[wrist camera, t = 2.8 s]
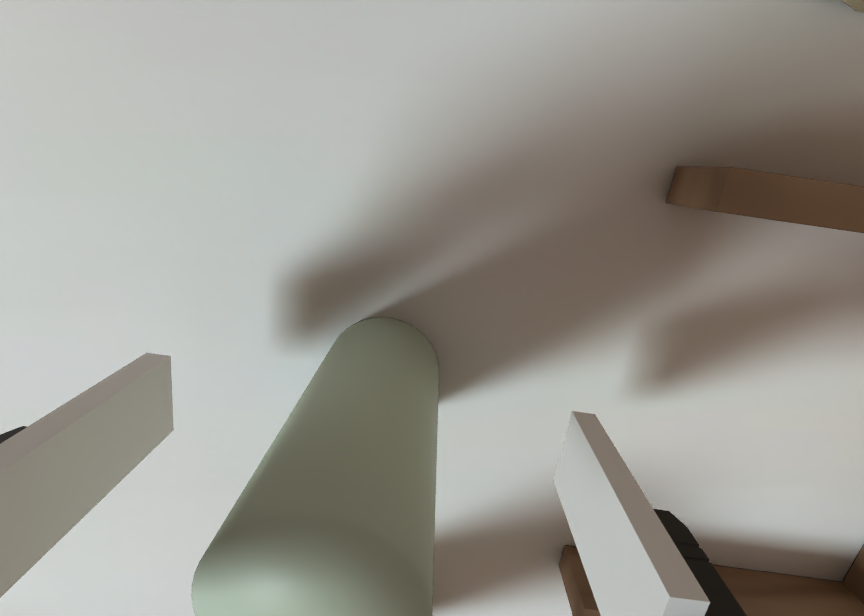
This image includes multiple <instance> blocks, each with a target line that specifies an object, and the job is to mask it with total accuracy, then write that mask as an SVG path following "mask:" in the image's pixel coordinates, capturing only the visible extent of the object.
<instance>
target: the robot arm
mask: <svg viewBox="0 0 864 616" xmlns="http://www.w3.org/2000/svg"><path fill="white" fill-rule="evenodd" d="M173 430H174V429H173V405H172V380H171V356H166V355H159V354H151V353H146V354H144V355H142V356H141V357H139V358H138V359H136V360H134V361H133V362H131V363H130V364H128V365H126V366H125V367H123V368H122V369H120V370H118V371H117V372H115V373H113V374H112V375H110V376H109V377H107V378H105V379H104V380H102V381H101V382H99V383H97V384H96V385H94V386H93V387H91V388H89V389H88V390H86V391H84V392H83V393H81V394H80V395H78V396H76V397H75V398H73V399H72V400H70V401H68V402H67V403H65V404H64V405H62V406H60V407H59V408H57V409H56V410H54V411H52V412H51V413H49V414H47V415H46V416H44V417H43V418H41V419H39V420H38V421H36V422H35V423H33V424H31V425H30V426H28V427H25V426H22V427H19V428H17V429H14V430H11V431H9V432H6V433H4V434H1V435H0V597H2V596H3V595H4V594H5V593H6V592H7V591H8V590H9V589H10V588H11V587H12V586H13V585H14V584H15V583H16V582H17V581H18V580H19V579H20V578H21V577H22V576H23V575H24V574H25V573H26V572H27V571H28V570H29V569H30V568H31V567H33V566H34V565H35V564H36V563H37V562H38V561H39V560H40V559H41V558H42V557H43V556H44V555H45V554H46V553H47V552H48V551H49V550H50V549H51V548H52V547H53V546H54V545H55V544H56V543H57V542H58V541H59V540H60V539H61V538H62V537H64V536H65V535H66V534H67V533H68V532H69V531H70V530H71V529H72V528H73V527H74V526H75V525H76V524H77V523H78V522H79V521H80V520H81V519H82V518H83V517H84V516H85V515H86V514H87V513H88V512H89V511H90V510H91V509H92V508H93V507H95V506H96V505H97V504H98V503H99V502H100V501H101V500H102V499H103V498H104V497H105V496H106V495H107V494H108V493H109V492H110V491H111V490H112V489H113V488H114V487H115V486H116V485H117V484H118V483H119V482H120V481H121V480H122V479H123V478H124V477H125V476H127V475H128V474H129V473H130V472H131V471H132V470H133V469H134V468H135V467H136V466H137V465H138V464H139V463H140V462H141V461H142V460H143V459H144V458H145V457H146V456H147V455H148V454H149V453H150V452H151V451H152V450H153V449H154V448H155V447H156V446H158V445H159V444H160V443H161V442H162V441H163V440H164V439H165V438H166V437H167V436H168V435H169V434H170V433H171V432H172V431H173ZM554 484H555V487H556V490H557V492H558V495H559V498H560V501H561V504H562V507H563V510H564V512H565V515H566V518H567V521H568V524H569V527H570V530H571V532H572V535H573V538H574V541H575V544H576V547H577V550H578V552H579V555H580V558H581V561H582V564H583V567H584V570H585V572H586V575H587V578H588V581H589V584H590V587H591V590H592V592H593V595H594V598H595V601H596V604H597V607H598V610H599V612H600V615H601V616H747V615H746V614H745V612H744V611H743V609H742V608H741V606H740V605H739V603H738V602H737V600H736V599H735V597H734V596H733V594H732V593H731V591H730V590H729V589H728V587H727V586H726V584H725V583H724V581H723V580H722V578H721V577H720V575H719V574H718V572H717V571H716V569H715V568H714V566H713V565H712V563H709V559H708V558H707V556H706V555H705V553H704V552H703V550H702V549H701V548H699V544H698V543H697V541H696V540H695V538H694V537H693V535H692V534H691V532H690V531H689V529H688V528H687V527H686V526H685V525H684V524H683V523H682V522H681V521H679V520H678V519H677V518H676V517H675V516H674V515H673V514H672V513H671V512H669V511H664V510H657V509H653V508H652V506H651V505H650V503H649V501H648V500H647V498H646V497H645V495H644V493H643V492H642V490H641V488H640V487H639V485H638V484H637V482H636V480H635V479H634V477H633V475H632V474H631V472H630V470H629V469H628V467H627V466H626V464H625V462H624V461H623V459H622V457H621V456H620V454H619V453H618V451H617V449H616V448H615V446H614V444H613V443H612V441H611V440H610V438H609V436H608V435H607V433H606V431H605V430H604V428H603V427H602V425H601V423H600V422H599V420H598V418H597V417H596V415H595V414H590V413H582V412H575V411H572V413H571V416H570V420H569V424H568V428H567V432H566V435H565V439H564V443H563V447H562V451H561V454H560V458H559V462H558V466H557V469H556V473H555V477H554Z"/></svg>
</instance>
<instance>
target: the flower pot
mask: <svg viewBox="0 0 864 616" xmlns="http://www.w3.org/2000/svg"><path fill="white" fill-rule="evenodd" d="M841 1H843V2H844V3H846V4H847V5H849V6H850V7H852V8H853V9H854V10H855V11H859V12H863V13H864V0H841Z"/></svg>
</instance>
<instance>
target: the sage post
mask: <svg viewBox="0 0 864 616" xmlns="http://www.w3.org/2000/svg"><path fill="white" fill-rule="evenodd" d="M438 389H439V364H438V359H437V356H436V353H435V350H434V349H433V347H432V345H431V343H430V342H429V341H428V339H427V338H426V337H425V336H424V335H423V334H422V333H421V332H420V331H418V330H417V329H416V328H414V327H413V326H411V325H409V324H407V323H405V322H402V321H399V320H396V319H391V318H371V319H366V320H363V321H360V322H357V323H355V324H353V325H352V326H350V327H348V328H347V329H346V330H345V331H343V332H342V333H341V334H340V336H339V337H338V338H337V339H336V341H335V342H334V344H333V346H332V347H331V349H330V350H329V352H328V354H327V355H326V357H325V359H324V360H323V362H322V363H321V365H320V367H319V368H318V370H317V372H316V373H315V375H314V376H313V378H312V380H311V381H310V383H309V385H308V386H307V388H306V389H305V391H304V393H303V394H302V396H301V398H300V399H299V401H298V402H297V404H296V406H295V407H294V409H293V411H292V412H291V414H290V415H289V417H288V419H287V420H286V422H285V424H284V425H283V427H282V428H281V430H280V432H279V433H278V435H277V437H276V438H275V440H274V441H273V443H272V445H271V446H270V448H269V450H268V451H267V453H266V454H265V456H264V458H263V459H262V461H261V463H260V464H259V466H258V467H257V469H256V471H255V472H254V474H253V476H252V477H251V479H250V480H249V482H248V484H247V485H246V487H245V489H244V490H243V492H242V493H241V495H240V497H239V498H238V500H237V502H236V503H235V505H234V506H233V508H232V510H231V511H230V513H229V515H228V516H227V518H226V519H225V521H224V523H223V524H222V526H221V528H220V529H219V531H218V532H217V534H216V536H215V537H214V539H213V541H212V542H211V544H210V545H209V547H208V549H207V550H206V552H205V554H204V555H203V557H202V558H201V560H200V562H199V564H198V566H197V569H196V571H195V573H194V578H193V582H192V594H191V596H192V604H193V610H194V613H195V616H432V600H433V565H434V529H435V494H436V459H437V424H438Z"/></svg>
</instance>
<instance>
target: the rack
mask: <svg viewBox="0 0 864 616" xmlns="http://www.w3.org/2000/svg"><path fill="white" fill-rule="evenodd" d="M666 203H671V204H676V205H682V206H688V207H693V208H699V209H704V210H710V211H715V212H722V213H729V214H736V215H743V216H750V217H757V218H763V219H770V220H777V221H784V222H791V223H798V224H805V225H812V226H818V227H825V228H832V229H839V230H846V231H853V232H860V233H864V187H862V186H855V185H849V184H842V183H835V182H828V181H821V180H815V179H808V178H801V177H794V176H787V175H781V174H774V173H767V172H760V171H753V170H747V169H740V168H733V167H681V166H677V167H676V171H675V174H674V177H673V181H672V184H671V188H670V191H669V194H668V198H667V201H666ZM713 566H714V568H715V569H716V571H717V572H718V574H719V575H720V577H721V578H722V580H723V581H724V583H725V584H726V586H727V587H728V589H729V590H730V591H731V593H732V594H733V596H734V597H735V599H736V600H737V602H738V603H739V605H740V606H741V608H742V609H743V611H744V612H745V614H746V615H747V616H864V545H863V547H862V549H861V551H860V552H859V554H858V556H857V558H856V559H855V561H854V563H853V565H852V567H851V568H850V570H849V572H848V574H847V575H846V577H845V579H844V581H843V582H836V581H829V580H821V579H814V578H806V577H799V576H791V575H784V574H776V573H769V572H761V571H753V570H746V569H738V568H731V567H723V566H716V565H713ZM559 568H560V572H561V575H562V579H563V582H564V586H565V589H566V593H567V596H568V600H569V603H570V607H571V611H572V614H573V616H601V615H600V612H599V610H598V607H597V604H596V601H595V598H594V595H593V592H592V590H591V587H590V584H589V581H588V578H587V575H586V572H585V570H584V567H583V564H582V561H581V558H580V555H579V552H578V550H577V547H572V546H565V547H564V550H563V554H562V557H561V560H560V564H559Z"/></svg>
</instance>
